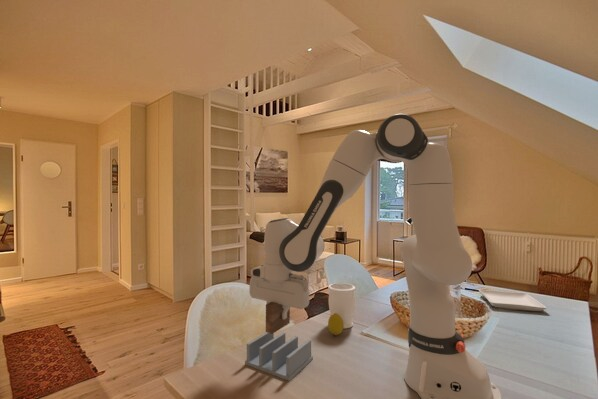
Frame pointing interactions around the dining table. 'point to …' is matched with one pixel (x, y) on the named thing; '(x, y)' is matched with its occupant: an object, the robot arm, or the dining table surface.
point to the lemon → (335, 324)
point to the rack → (278, 355)
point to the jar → (342, 302)
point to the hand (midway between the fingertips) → (278, 317)
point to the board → (275, 317)
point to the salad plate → (512, 300)
